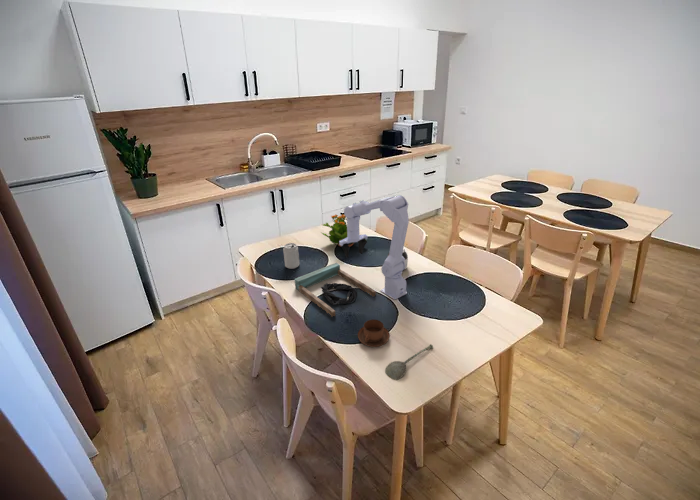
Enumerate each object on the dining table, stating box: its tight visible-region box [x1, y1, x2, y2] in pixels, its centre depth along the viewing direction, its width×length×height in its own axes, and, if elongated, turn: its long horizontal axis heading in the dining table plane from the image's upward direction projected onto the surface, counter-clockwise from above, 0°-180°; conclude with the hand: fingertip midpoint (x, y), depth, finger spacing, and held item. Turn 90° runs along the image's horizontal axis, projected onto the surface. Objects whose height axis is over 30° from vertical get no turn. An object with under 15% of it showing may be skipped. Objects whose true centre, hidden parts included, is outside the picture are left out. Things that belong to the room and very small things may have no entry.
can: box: [282, 242, 300, 270], centre depth 184 cm, size 8×8×12 cm
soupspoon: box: [385, 343, 434, 381], centre depth 123 cm, size 22×3×7 cm
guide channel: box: [294, 262, 377, 318], centre depth 163 cm, size 29×24×5 cm
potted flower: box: [321, 214, 361, 248], centre depth 204 cm, size 25×24×18 cm
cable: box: [320, 282, 358, 306], centre depth 161 cm, size 17×14×4 cm
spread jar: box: [387, 246, 409, 271], centre depth 178 cm, size 12×11×12 cm
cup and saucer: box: [357, 319, 391, 348], centre depth 133 cm, size 12×12×6 cm
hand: (353, 255), depth 174 cm, fingers open, 7 cm apart
